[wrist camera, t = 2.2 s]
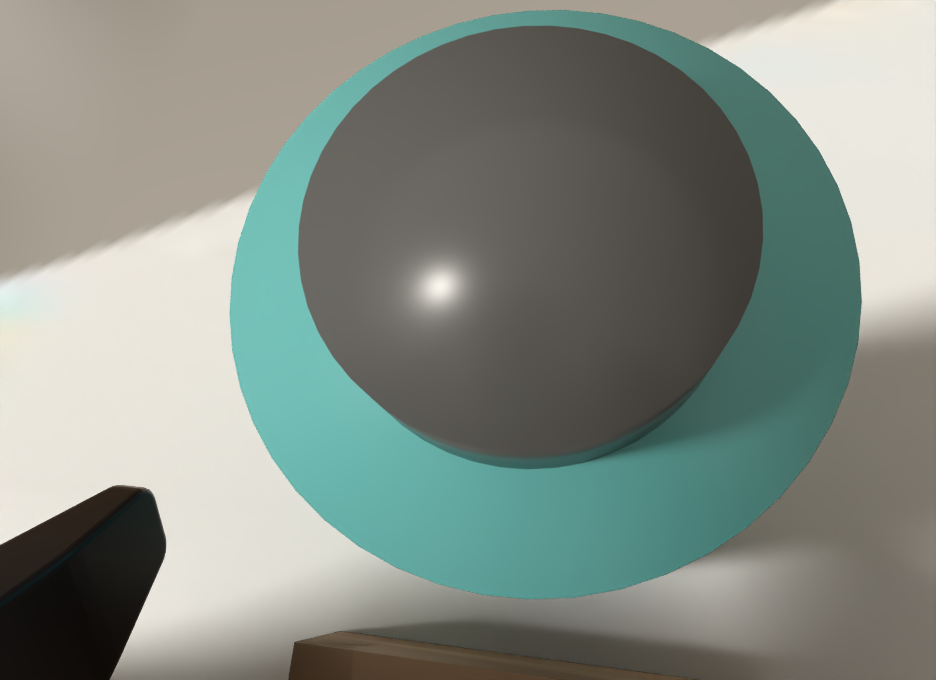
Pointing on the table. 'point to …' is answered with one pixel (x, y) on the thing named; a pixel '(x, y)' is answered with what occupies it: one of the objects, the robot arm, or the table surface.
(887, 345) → the table surface
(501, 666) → the tray
